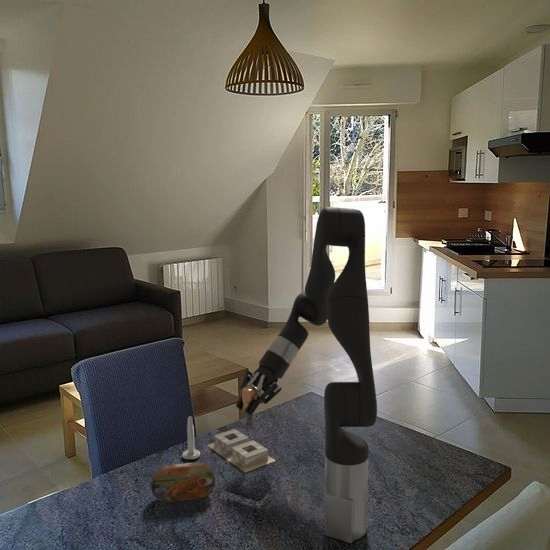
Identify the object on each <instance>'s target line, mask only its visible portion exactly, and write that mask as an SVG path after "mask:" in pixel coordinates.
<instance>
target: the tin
mask: <svg viewBox="0 0 550 550" xmlns="http://www.w3.org/2000/svg"><path fill="white" fill-rule="evenodd" d="M215 485H216V478H215V474H214V471H213V469H212V467H210V466H209V465H208V464H207V463H205V462H200V461H196V462H184V463H175V464H166V465H163V466H161V467H159V468H158V469H157V470H156V471H155V472H154V474H153V477H152V479H151V483H150V489H151V493H152V494H153V496H154V498H156V499H157V500H158V501H161V502H164V503H173V502H174V503H175V502H184V501H190V500H191V501H194V500H200V499H203V498H206V497H208V496H209V494H211V493H212V491H213V490H214V487H215Z"/></svg>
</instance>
